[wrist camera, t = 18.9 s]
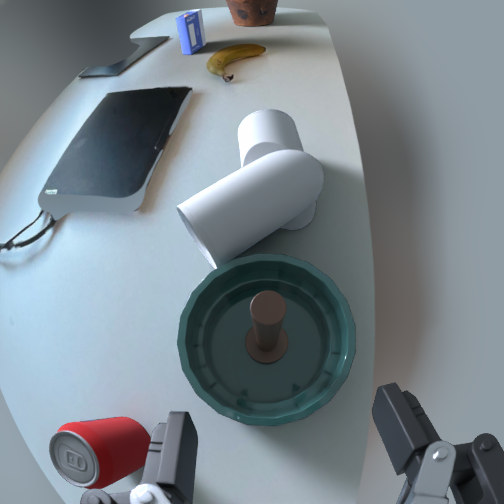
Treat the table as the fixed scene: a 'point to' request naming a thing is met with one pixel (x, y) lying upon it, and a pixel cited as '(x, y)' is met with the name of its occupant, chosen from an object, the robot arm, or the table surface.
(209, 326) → the bowl
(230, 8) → the brown pot
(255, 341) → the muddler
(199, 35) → the walkman
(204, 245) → the elbow connector
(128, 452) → the beverage can
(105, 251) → the table surface
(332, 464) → the table surface
